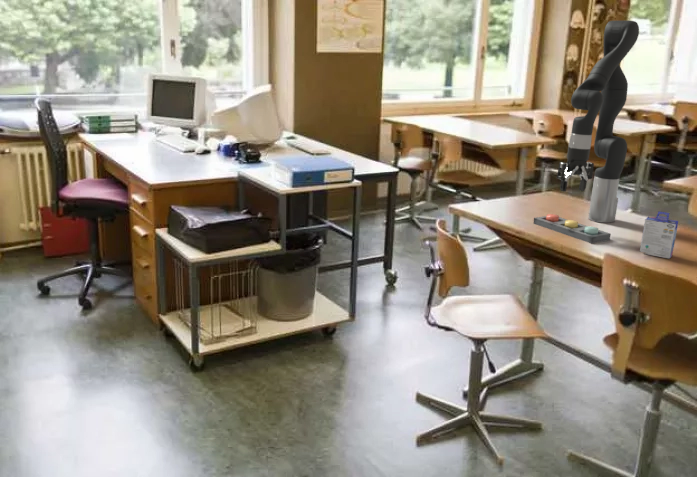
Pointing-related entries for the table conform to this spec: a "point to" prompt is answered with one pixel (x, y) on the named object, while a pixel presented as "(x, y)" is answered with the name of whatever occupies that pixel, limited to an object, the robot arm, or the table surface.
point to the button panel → (572, 230)
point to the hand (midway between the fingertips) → (572, 190)
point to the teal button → (591, 230)
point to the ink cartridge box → (659, 236)
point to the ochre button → (571, 224)
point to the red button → (552, 218)
